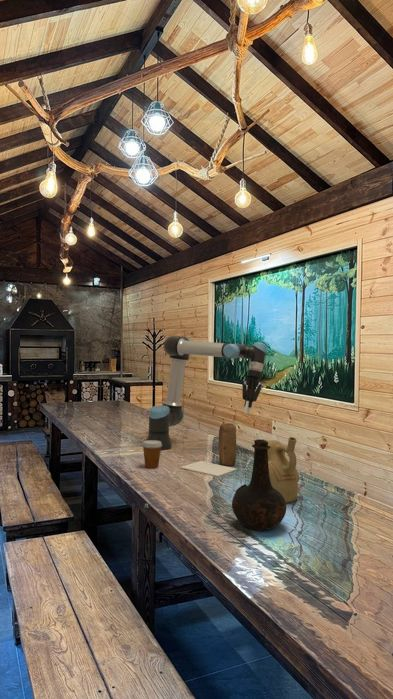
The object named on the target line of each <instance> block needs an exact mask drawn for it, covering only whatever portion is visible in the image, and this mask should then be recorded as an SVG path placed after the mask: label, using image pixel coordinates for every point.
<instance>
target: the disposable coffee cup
mask: <svg viewBox="0 0 393 699" xmlns="http://www.w3.org/2000/svg"><path fill="white" fill-rule="evenodd" d="M141 445H142V448H143V449H142V450H143V457H144V467H145V468H146V469H151V468H152V469H158V468H159V464H160V458H161V451H162V450H161V447H162V444H161V441H157V440H147V439H146V440H143V442H142V444H141ZM157 467H158V468H157Z"/></svg>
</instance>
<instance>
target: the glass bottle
mask: <svg viewBox="0 0 393 699" xmlns="http://www.w3.org/2000/svg"><path fill="white" fill-rule="evenodd" d="M253 442H254V444H252V445H251V447H252V448H253V449H254V450H253V452H254V453H253V463H252V471H251V472H252V473H251V478H250V481H249V484H248V485H247V484H246V483H244V484H242V485H241V486H240V487H238V488H237V489H236V490H235V493H234V495H233V496H232V500H231V508H232V512H233V514H234V516H235V517H236V519H237V520H238V521H239V523H241V525H242V526H244V527H246V528H248V529H251V530H253V531H254V530H255V531H266V530H268V531H269V530H271V529H273V528H275V527H276V526H278V525H279V524H281V522H282V521H283V520H284V518H285V516H286V514H287V503H286V502H285V499H284V497H283V496H282V494H281V493H280V492H279V491H277V490H276V489H274V488H273V487H272V485H271V481H270V476H269V467H268V449H270V448H271V447H270V446H268V442H269V441H267V440H265V439H255V440H253Z"/></svg>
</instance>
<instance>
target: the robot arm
mask: <svg viewBox="0 0 393 699" xmlns="http://www.w3.org/2000/svg"><path fill="white" fill-rule="evenodd" d="M267 348H268V346H267V345H266V343H263V342H258V341H256V342H254V343H253V345H249V344H248V345H247V344H241V343H225V342H211V341H199V340H191V339H190V338H189V337H187V336H181V335H180V336H178V335H171V336H168V337H166V339H165V341H164V342H163V350H164V352H165V353H166V354H167V356H169V359H170V360H171V362H170V370H169V377H168V384H167V390H166V391H167V392H166V397H165V398H166V399H165V400H164V401H163V402H162V405H161V404H160V405H154V406H152V407H150V408H149V412H148V435H147V438H146V441H147V440H157V441H161V444H162V447H161V451H164V449H166V450H170V449H172V448H173V447H172V446H173V445H172V442H171V437H170V436H171V435H170V427H173V426H177V425H178V424H180V423H182V422H183V421H184V418H185V412H184V410H183V404H182V402H181V400H182V392H183V385H184V377H185V371H186V370H185V369H186V363H187V362H189V359H190V356H191V355H194V356H205V357H217V358H227V359H248V360H249V361H250V362H249V366H248V370H247V375H246V379H245V380H244V381H241V385H242V396H241V397H242V400H244V405H243V406H244V410H243V413H244V414H246V415H250V410H251V409H252V406H253V403H254V402H257V401H258V397H259V395H260V393H261V391H262V389H263V387H264V384H262V383H261V378H262V375H263V373H262V372H263V370H264V364H265V359H266V356H267V355H266V354H267ZM171 447H172V448H171ZM169 448H170V449H169Z"/></svg>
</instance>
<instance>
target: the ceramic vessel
mask: <svg viewBox="0 0 393 699" xmlns="http://www.w3.org/2000/svg"><path fill="white" fill-rule="evenodd" d="M297 441H298V440H297V438H295V437H294V436H293V437H292V436H291V437H290V436H289V437H288V439H287V442H288V443H287V445H286V444H283V443H281V442H280V441H278V440H276V439H275V440H274V439H273V440H272V439H271V440H269V441H268V446H270V447H271V448H270V449H268V467H269V476H270V481H271V485H272V487H273V488H274V489H276V490H277V491H279V492H280V493H281V494H282V496H283V497H284V499H285V502H286V504H287V503H293V502H295V501H296V500H297V498H298V494H299V485H298V484H299V483H298V482H299V481H300V474H299V472H298V469H297V468H296V467H297V455H296V453H295V448H296V444H297ZM286 454H287V456H288V458H289V459H288V458H287V456H286Z"/></svg>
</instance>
